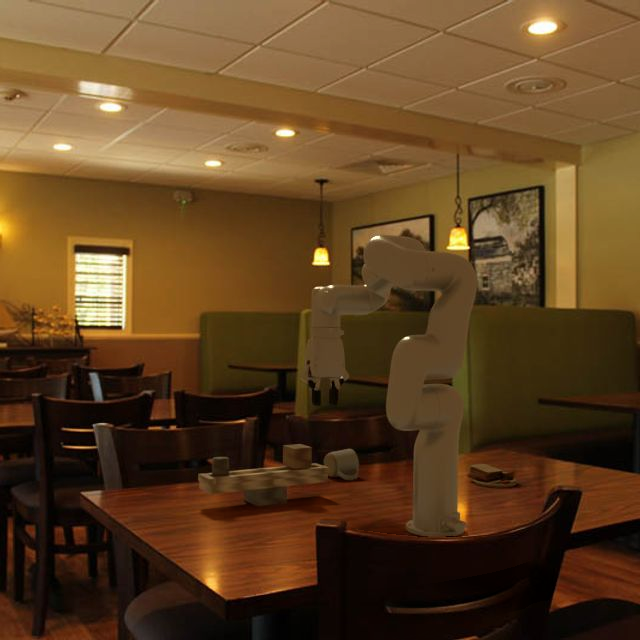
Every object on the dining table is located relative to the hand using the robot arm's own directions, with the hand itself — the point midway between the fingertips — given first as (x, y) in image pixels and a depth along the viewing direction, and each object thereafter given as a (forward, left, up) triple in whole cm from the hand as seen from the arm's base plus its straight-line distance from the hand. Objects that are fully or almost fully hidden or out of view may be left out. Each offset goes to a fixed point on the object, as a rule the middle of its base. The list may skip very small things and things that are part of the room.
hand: (324, 404), depth 210 cm
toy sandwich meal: (-9, -49, -24) cm, 56 cm away
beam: (0, +17, -23) cm, 29 cm away
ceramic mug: (+17, -17, -24) cm, 34 cm away
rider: (0, +8, -17) cm, 19 cm away
